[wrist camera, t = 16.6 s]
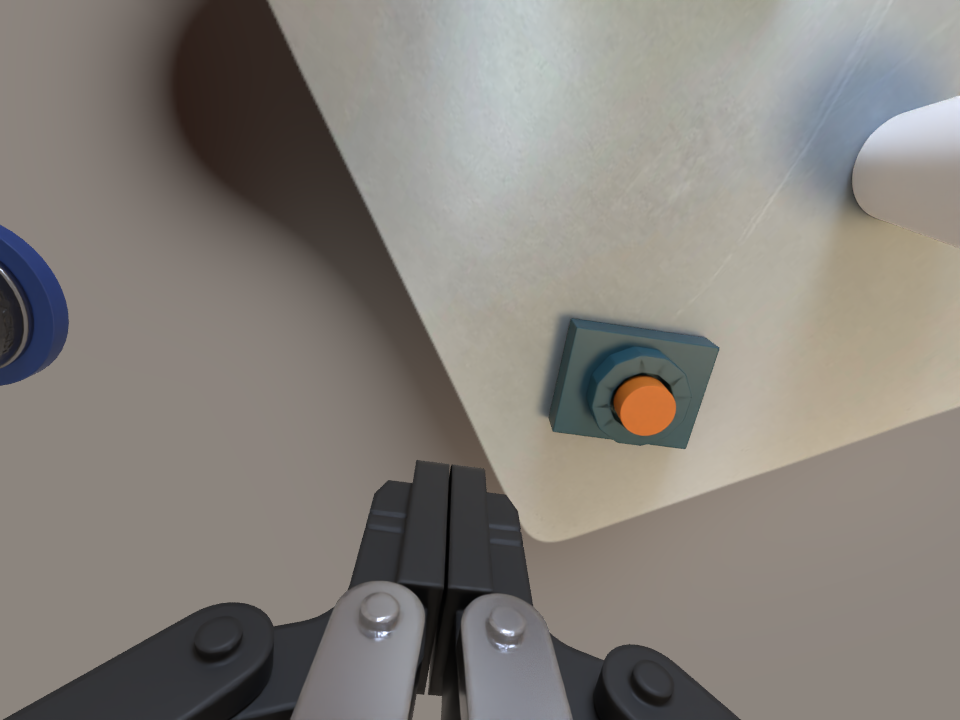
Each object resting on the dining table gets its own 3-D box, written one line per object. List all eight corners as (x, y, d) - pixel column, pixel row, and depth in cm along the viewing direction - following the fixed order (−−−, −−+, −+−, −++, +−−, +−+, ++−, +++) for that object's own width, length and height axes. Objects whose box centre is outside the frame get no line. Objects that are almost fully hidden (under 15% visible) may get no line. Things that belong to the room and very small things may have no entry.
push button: (607, 419, 35) (614, 432, 34) (620, 371, 34) (628, 382, 32) (658, 426, 36) (667, 439, 34) (673, 378, 34) (683, 389, 33)
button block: (548, 418, 39) (556, 444, 36) (570, 317, 36) (581, 335, 33) (675, 434, 40) (696, 462, 36) (706, 337, 37) (732, 357, 33)
